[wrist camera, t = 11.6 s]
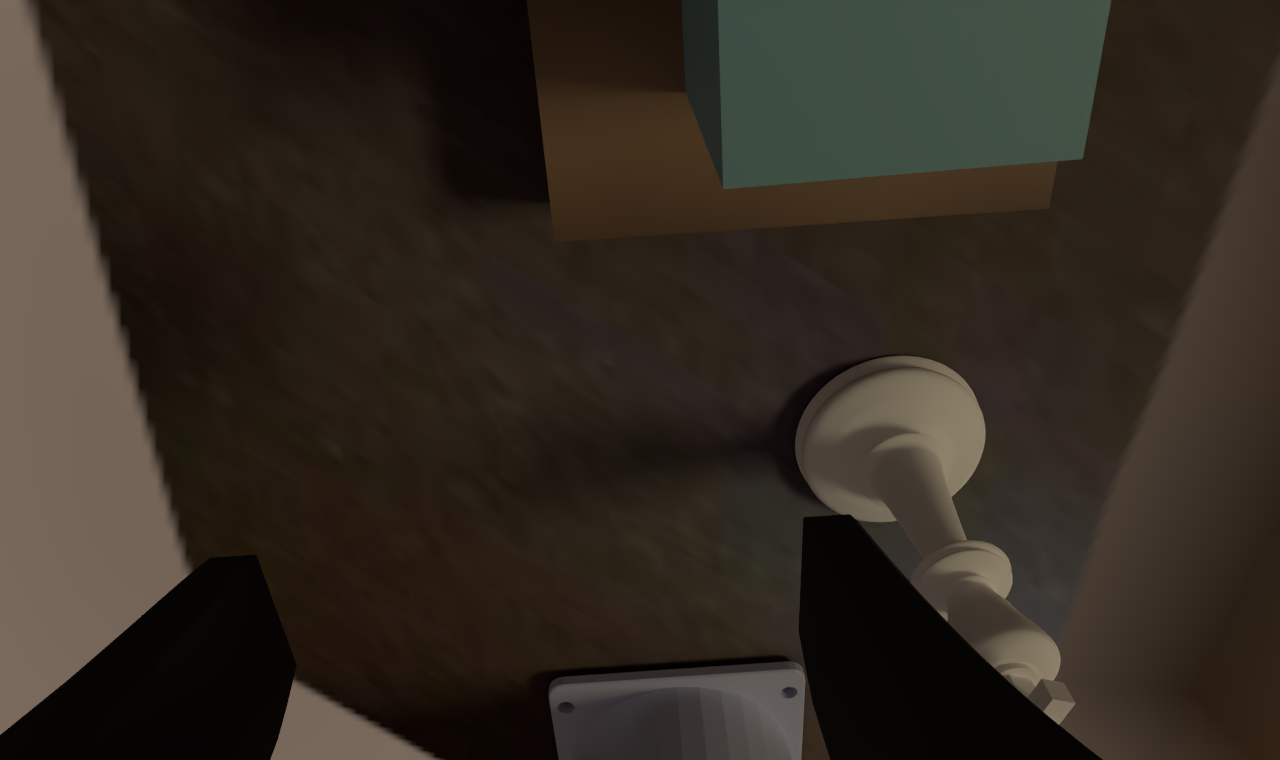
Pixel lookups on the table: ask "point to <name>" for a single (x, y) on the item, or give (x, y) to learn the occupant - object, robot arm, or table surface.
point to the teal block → (889, 84)
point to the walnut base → (695, 142)
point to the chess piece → (926, 502)
